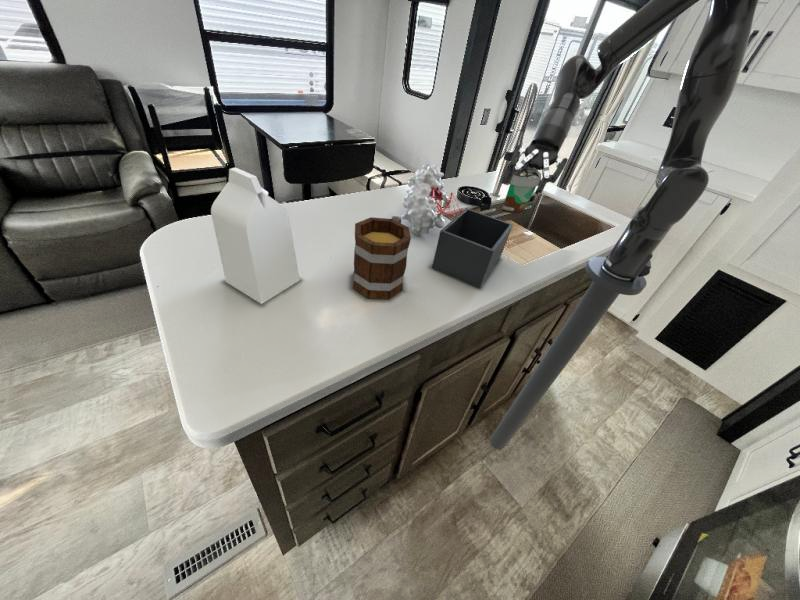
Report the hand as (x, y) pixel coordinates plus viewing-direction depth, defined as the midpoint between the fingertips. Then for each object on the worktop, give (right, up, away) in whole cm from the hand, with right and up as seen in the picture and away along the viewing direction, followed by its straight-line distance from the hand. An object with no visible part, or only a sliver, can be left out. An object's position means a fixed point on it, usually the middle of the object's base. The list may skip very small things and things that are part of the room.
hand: (524, 188), depth 84 cm
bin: (-13, -18, +11) cm, 25 cm away
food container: (0, -4, +5) cm, 7 cm away
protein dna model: (-24, -3, +27) cm, 36 cm away
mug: (-38, -23, +1) cm, 44 cm away
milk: (-66, -25, -7) cm, 70 cm away
